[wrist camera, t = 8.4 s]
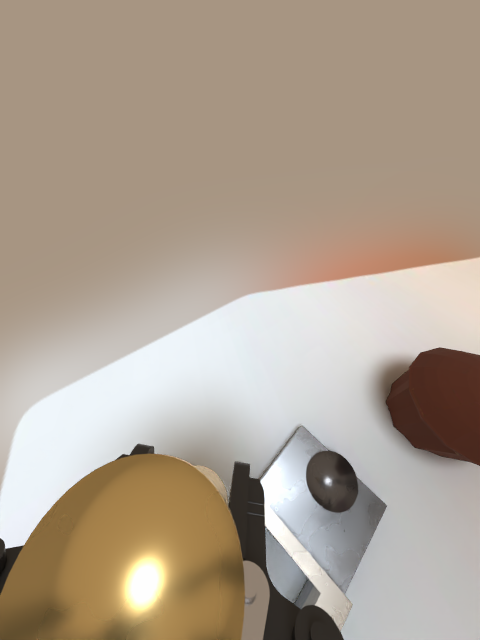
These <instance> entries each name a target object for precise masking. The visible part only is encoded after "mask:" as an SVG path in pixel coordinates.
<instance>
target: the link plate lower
mask: <svg viewBox="0 0 480 640" xmlns="http://www.w3.org/2000/svg"><path fill="white" fill-rule="evenodd" d="M260 482H261V484H262V486H263V489H264V496H265V502H266V503H267V505H268V506H269V507H270V508H271V509H272V510H273V512H274V513H275V514H276V515H277V516H278V517H279V519H280V520H281V521H282V522H283V523H284V524H285V526H286V527H287V528H288V529H289V530H290V531H291V533H292V534H293V535H294V536H295V537H296V539H297V540H298V541H299V542H300V543H301V544H302V546H303V547H304V548H305V549H306V550H307V551H308V553H309V554H310V555H311V556H312V557H313V558H314V560H315V561H316V562H317V563H318V564H319V565H320V567H321V568H322V569H323V570H324V571H325V572H326V574H327V575H328V576H329V577H330V578H331V579H332V581H333V582H334V583H335V584H336V585H337V586H338V588H339V589H340V590H341V591H342V592H343V593H344V594H345V592H346V590H347V588H348V586H349V584H350V582H351V580H352V578H353V576H354V574H355V571H356V569H357V567H358V565H359V563H360V561H361V559H362V557H363V555H364V553H365V551H366V549H367V546H368V544H369V542H370V540H371V538H372V536H373V534H374V532H375V530H376V528H377V526H378V524H379V521H380V519H381V517H382V515H383V513H384V511H385V509H386V507H387V505H386V504H385V503H383V502H382V501H381V500H380V499H379V498H378V497H377V496H376V495H375V494H374V493H373V492H372V491H371V490H370V489H369V488H368V487H367V486H366V485H364V484H363V483H362V482H361V481H360V480H359V479H358V478H357V477H356V474H355V472H354V470H353V468H352V466H351V465H350V463H349V462H348V461H347V460H346V459H345V458H344V457H343V456H341V455H340V454H338V453H336V452H332V451H329V450H328V449H326V448H325V447H324V446H323V445H322V444H321V443H320V442H319V441H318V440H317V439H316V438H315V437H314V436H313V435H312V434H311V433H310V432H309V431H307V430H306V429H305V428H304V427H303V426H301V427H299V428H298V429H297V430H296V432H295V433H294V434H293V436H292V437H291V438H290V440H289V441H288V442H287V444H286V445H285V446H284V448H283V449H282V450H281V452H280V453H279V454H278V456H277V457H276V458H275V459H274V461H273V462H272V463H271V465H270V466H269V467H268V469H267V470H266V471H265V473H264V474H263V475H262V477H261V478H260ZM313 587H314V584H313V583H312V582H311V581H310V579H309V578H308V580H307V582H306V584H305V585H304V587H303V589H302V591H301V593H300V595H299V596H298V598H297V600H296V602H295V604H294V605H296V606H297V607H299V608H300V609H302V607H303V606H304V604H305V602H306V600H307V598H308V596H309V594H310V592H311V591H312V589H313Z"/></svg>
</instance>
